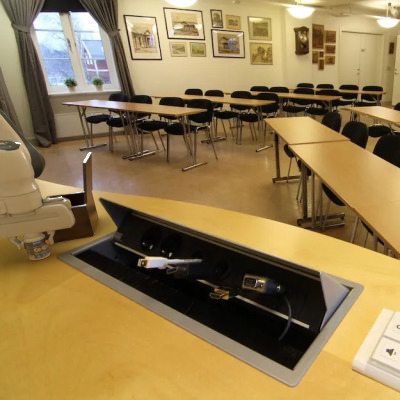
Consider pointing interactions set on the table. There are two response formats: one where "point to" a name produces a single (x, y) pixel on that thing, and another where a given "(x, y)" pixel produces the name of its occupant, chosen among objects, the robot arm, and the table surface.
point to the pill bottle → (36, 246)
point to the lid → (87, 177)
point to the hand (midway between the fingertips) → (36, 246)
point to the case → (77, 218)
